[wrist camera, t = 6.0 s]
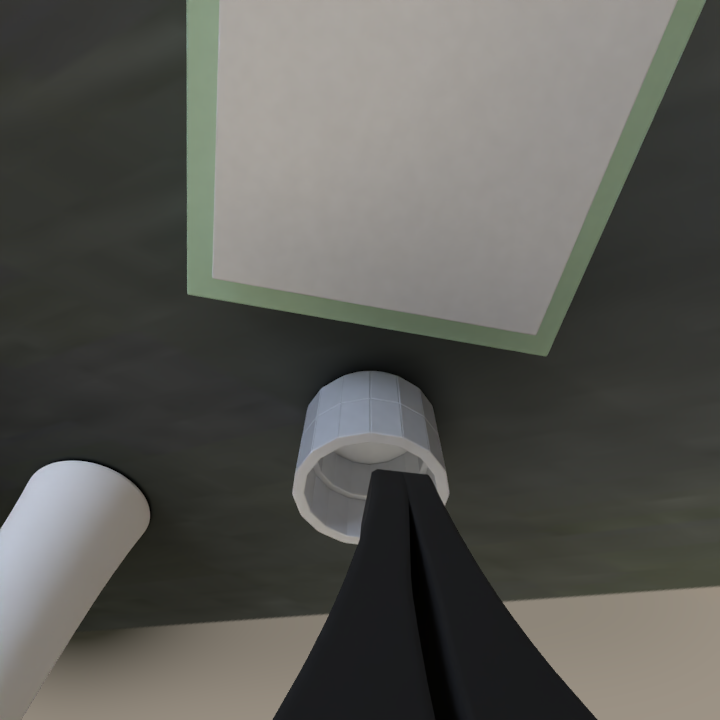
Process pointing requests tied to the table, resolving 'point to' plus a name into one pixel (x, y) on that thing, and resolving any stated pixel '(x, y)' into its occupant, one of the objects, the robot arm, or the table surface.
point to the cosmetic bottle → (58, 566)
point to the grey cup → (362, 447)
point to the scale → (417, 154)
